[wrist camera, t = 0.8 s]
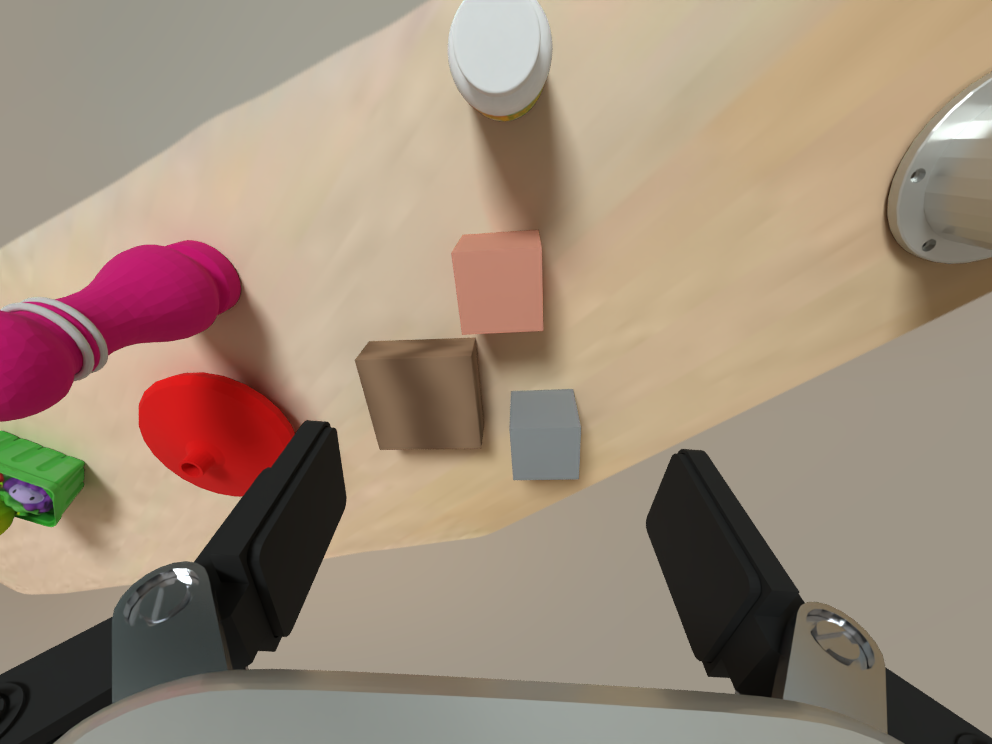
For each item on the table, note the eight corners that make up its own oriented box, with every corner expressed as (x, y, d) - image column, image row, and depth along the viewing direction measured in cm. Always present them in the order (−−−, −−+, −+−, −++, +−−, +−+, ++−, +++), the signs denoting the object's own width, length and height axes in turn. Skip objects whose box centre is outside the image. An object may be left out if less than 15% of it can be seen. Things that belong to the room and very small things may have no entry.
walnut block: (475, 336, 36) (471, 356, 33) (484, 422, 41) (481, 448, 38) (370, 339, 37) (354, 360, 33) (391, 424, 42) (379, 449, 38)
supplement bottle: (514, 139, 28) (511, 137, 19) (449, 88, 26) (415, 63, 18) (562, 58, 25) (582, 16, 17) (492, -3, 24) (477, -80, 16)
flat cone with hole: (339, 450, 44) (310, 500, 38) (239, 490, 48) (199, 541, 42) (235, 335, 37) (179, 373, 31) (130, 393, 41) (62, 437, 35)
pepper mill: (144, 260, 34) (-249, 383, 17) (198, 216, 32) (-189, 305, 14) (211, 328, 37) (-63, 491, 20) (264, 292, 35) (10, 440, 17)
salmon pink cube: (538, 229, 31) (541, 246, 26) (539, 302, 34) (543, 330, 29) (462, 234, 31) (451, 252, 26) (471, 305, 34) (462, 334, 29)
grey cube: (572, 388, 38) (580, 427, 33) (571, 436, 41) (578, 479, 36) (511, 390, 39) (509, 429, 33) (514, 438, 42) (513, 480, 36)
